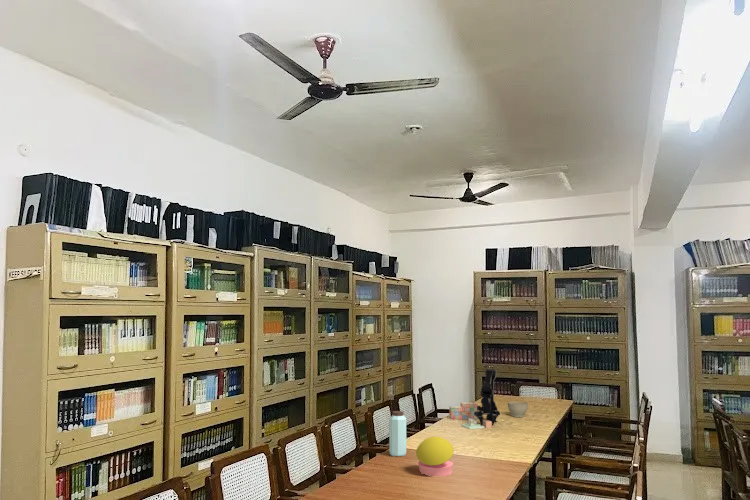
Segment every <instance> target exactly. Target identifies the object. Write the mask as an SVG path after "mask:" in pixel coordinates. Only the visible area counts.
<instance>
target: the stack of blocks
mask: <svg viewBox="0 0 750 500" xmlns="http://www.w3.org/2000/svg"><path fill="white" fill-rule="evenodd" d="M477 406H478V403H477V402H471V401H469V402H462V401H461V402H460V405H459V406H456V405H455V406H452V405H451V406H448V407H449V415H448V416H449V419H450V420H468V419H470V418H474V419H477V420H479V418H478V417H476V416H475V415H474V413H475V411H477Z"/></svg>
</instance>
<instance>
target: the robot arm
mask: <svg viewBox="0 0 750 500" xmlns="http://www.w3.org/2000/svg"><path fill="white" fill-rule="evenodd" d="M497 374H498V372H497V370H496V369H495V368H493V369H492V368H487V369H485V370H484V375H485V380H484V383H483V384H482V387H481V389H480V390H481V391H480V396H481V397H482V398H481V399H480V403H481V406H480V405H477V411H475V413H474V415H475V416H476V417H478V421H479V423H480V425H481V426H483V421H484V416H486V417H485V418H486V420H489V421H491V422H492V426H493V425H495V423H498V421H497V418H498V417H499V416H500V415H501V413H500V410H498V406H497V403H496V401H495V399H494V397H495V392H494V391H495V389H494V387H495V386H494V385H495V382H494V381H495V380H496V378H497Z"/></svg>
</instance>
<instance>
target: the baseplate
mask: <svg viewBox="0 0 750 500" xmlns="http://www.w3.org/2000/svg"><path fill="white" fill-rule="evenodd" d="M461 427H463V428H465V429H468V430H473V429H474V430H477V429H484V428H485V427H484V426H483V425H482V426H481V423H480V424H479V423H477V425H469V424H468V422H465V423H461Z"/></svg>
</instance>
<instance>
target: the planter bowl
mask: <svg viewBox="0 0 750 500" xmlns="http://www.w3.org/2000/svg"><path fill="white" fill-rule="evenodd" d="M528 405H529V403H528V402H526V401H517V400H515V401H513V400H511V401H507V408H508V409H507V410H508V411H509V413H510V414H511V416H512V417H514V418H524V417H525V414H526V413H527V410H528V409H529V408H528V407H529V406H528Z"/></svg>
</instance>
